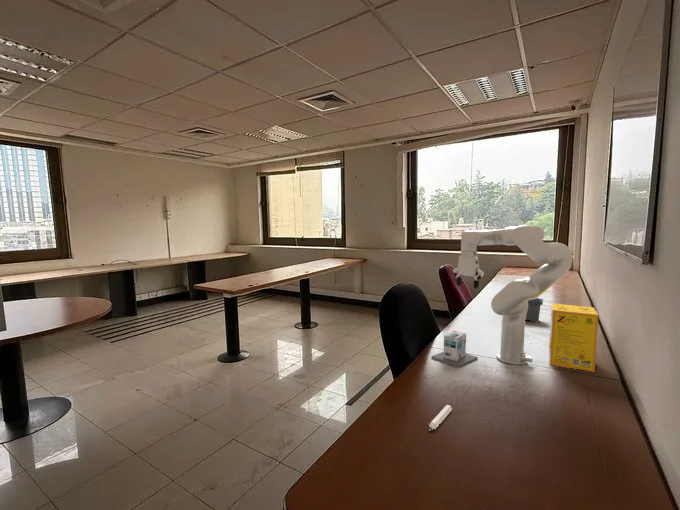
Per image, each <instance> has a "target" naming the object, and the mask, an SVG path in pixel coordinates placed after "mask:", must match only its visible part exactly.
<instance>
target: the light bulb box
mask: <svg viewBox="0 0 680 510" xmlns="http://www.w3.org/2000/svg"><path fill="white" fill-rule="evenodd" d="M466 346H467V333H465V332H461V331H459V330H451V331H450V332H447V334H444V336H443V352H444V358H447V359H450V360H454V361H458V360H459V359H461V358H462V357H464V356H465V355H466V354H467V353H466V352H467V350H466V349H467V348H466Z"/></svg>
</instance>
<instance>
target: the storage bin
mask: <svg viewBox="0 0 680 510" xmlns="http://www.w3.org/2000/svg"><path fill="white" fill-rule="evenodd" d="M543 302H544V299H543V298H539V297H538V298H536V299H533V300H528V309H527V313H526V319H525V320H530V321H529V322H531V321H538V322H539V319H540V313H541V306H542V305H543Z"/></svg>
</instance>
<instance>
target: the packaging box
mask: <svg viewBox="0 0 680 510" xmlns="http://www.w3.org/2000/svg"><path fill="white" fill-rule="evenodd" d="M550 308H551V309H550V310H551V311H550V326H549V327H550V328H549V346H548V347H549V349H548V360H549V362H548V363H549V366H553V365H554V366H555V367H559V366H561V368H565V367H567V368H566V369H570V368H574V369H573V370H576V369H581V370H587V371H593V372H595V370H596V356H597V342H598V341H597V340H598V339H597V338H598V324H599V314H598V312H597V311H596V309H595V308H594V307H591V306H582V305H571V304H563V303H562V304H561V303H551V307H550ZM581 370H580V371H581ZM587 371H586V372H587ZM593 372H592V373H593Z"/></svg>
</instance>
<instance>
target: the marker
mask: <svg viewBox="0 0 680 510" xmlns="http://www.w3.org/2000/svg"><path fill="white" fill-rule="evenodd" d="M452 411H453V408H452V406H451V405H449V404H446V405H445V406H444V407H443V408H442V410H440V412H439V413H438V414H437V415H436V416H435V417H434V418H433V419H432V420H431V421H430V423H429V424H428V425H429V428H428V431H433V429H434V430H436V429H437V428H438V427H439V426H440V425H439V424H441V423H442V422H443V421H444V420H445V419H446V418H447V416H448V415H449V414H450V413H451V412H452Z"/></svg>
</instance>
